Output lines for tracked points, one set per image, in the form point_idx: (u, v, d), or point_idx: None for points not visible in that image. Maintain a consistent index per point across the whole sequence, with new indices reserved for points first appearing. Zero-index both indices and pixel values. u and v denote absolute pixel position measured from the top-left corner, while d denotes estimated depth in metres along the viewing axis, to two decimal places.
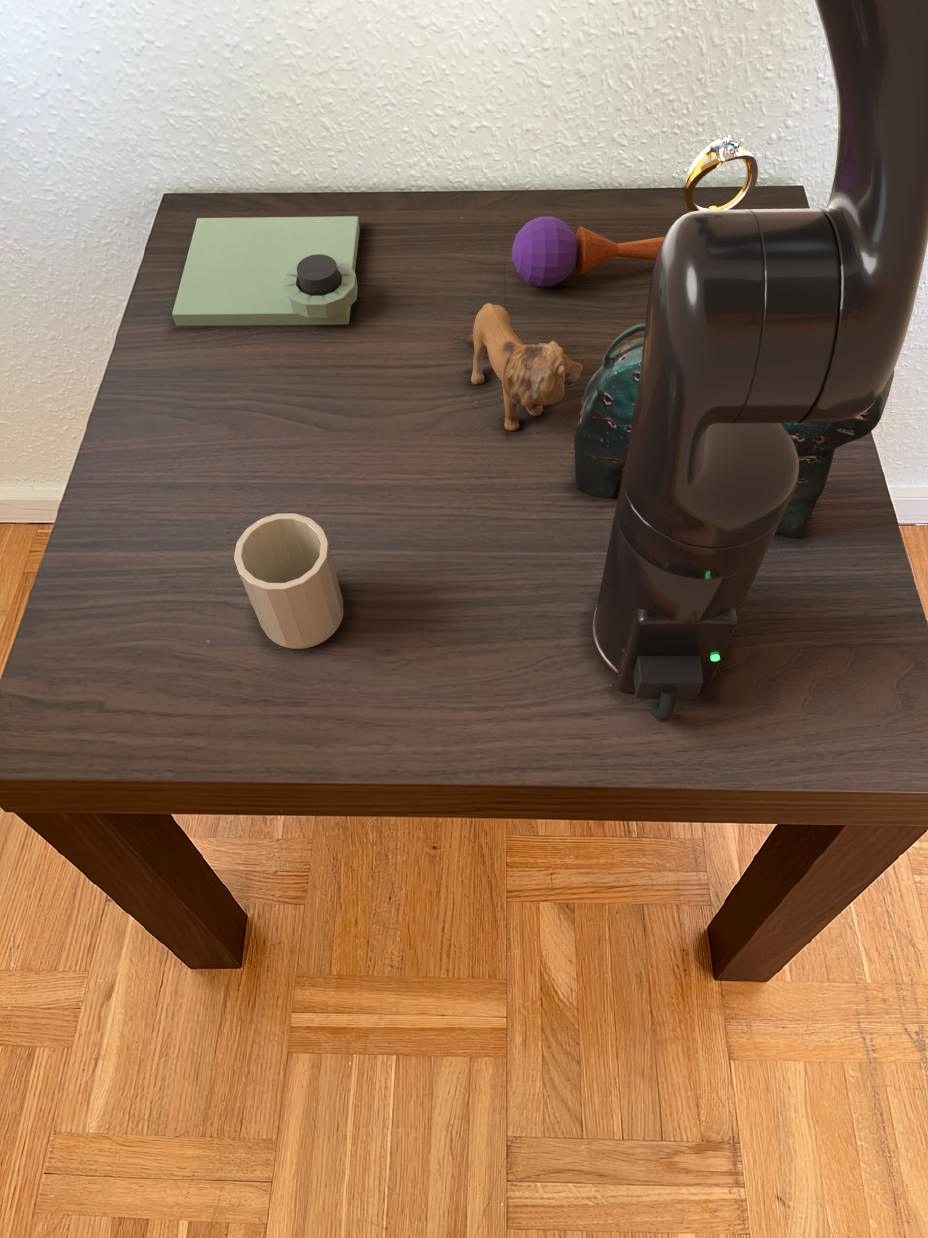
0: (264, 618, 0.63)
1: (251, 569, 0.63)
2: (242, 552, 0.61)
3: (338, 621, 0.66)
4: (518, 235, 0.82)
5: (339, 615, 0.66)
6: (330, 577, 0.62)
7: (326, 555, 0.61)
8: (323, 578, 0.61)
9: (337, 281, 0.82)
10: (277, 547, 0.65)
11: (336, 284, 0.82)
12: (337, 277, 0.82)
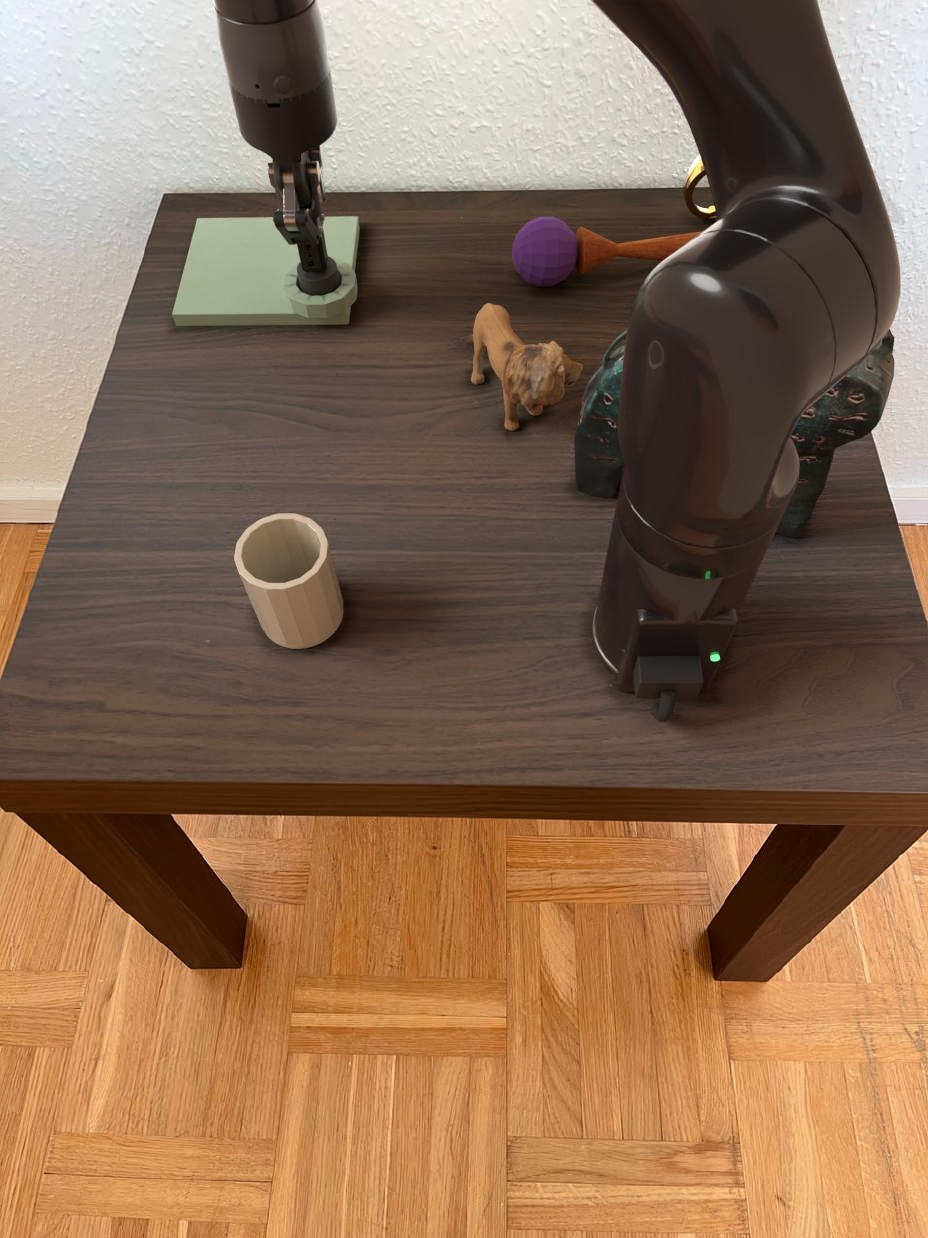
0: (264, 618, 0.63)
1: (251, 569, 0.63)
2: (242, 552, 0.61)
3: (338, 621, 0.66)
4: (518, 235, 0.82)
5: (339, 615, 0.66)
6: (330, 577, 0.62)
7: (326, 555, 0.61)
8: (323, 578, 0.61)
9: (337, 281, 0.82)
10: (277, 547, 0.65)
11: (336, 284, 0.82)
12: (337, 277, 0.82)
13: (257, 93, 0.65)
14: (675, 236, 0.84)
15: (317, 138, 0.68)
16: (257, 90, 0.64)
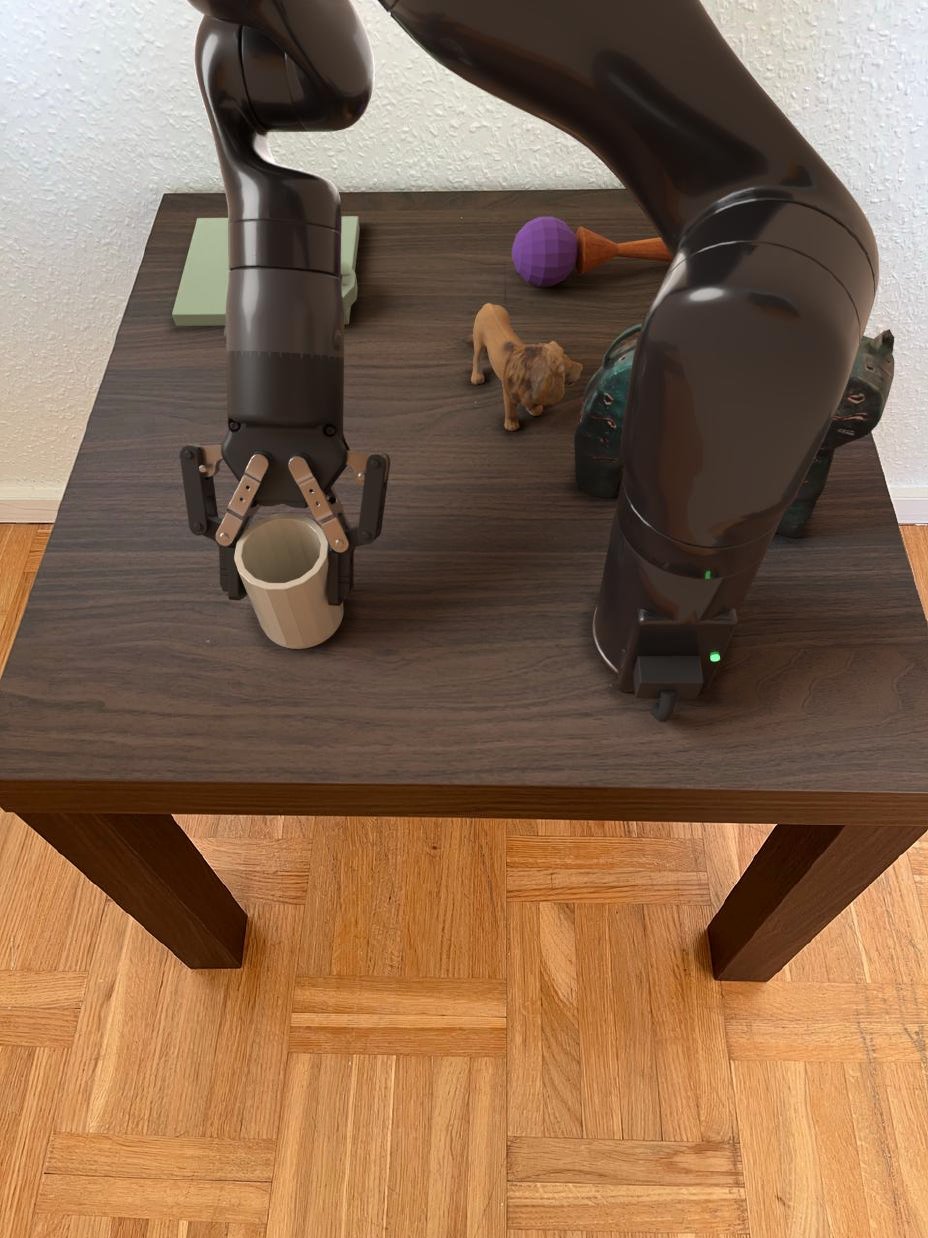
0: (264, 618, 0.63)
1: (251, 569, 0.63)
2: (242, 552, 0.61)
3: (338, 621, 0.66)
4: (518, 235, 0.82)
5: (339, 615, 0.66)
6: None
7: (326, 555, 0.61)
8: (323, 578, 0.61)
9: None
10: (277, 547, 0.65)
11: None
12: None
13: None
14: None
15: (232, 408, 0.58)
16: None
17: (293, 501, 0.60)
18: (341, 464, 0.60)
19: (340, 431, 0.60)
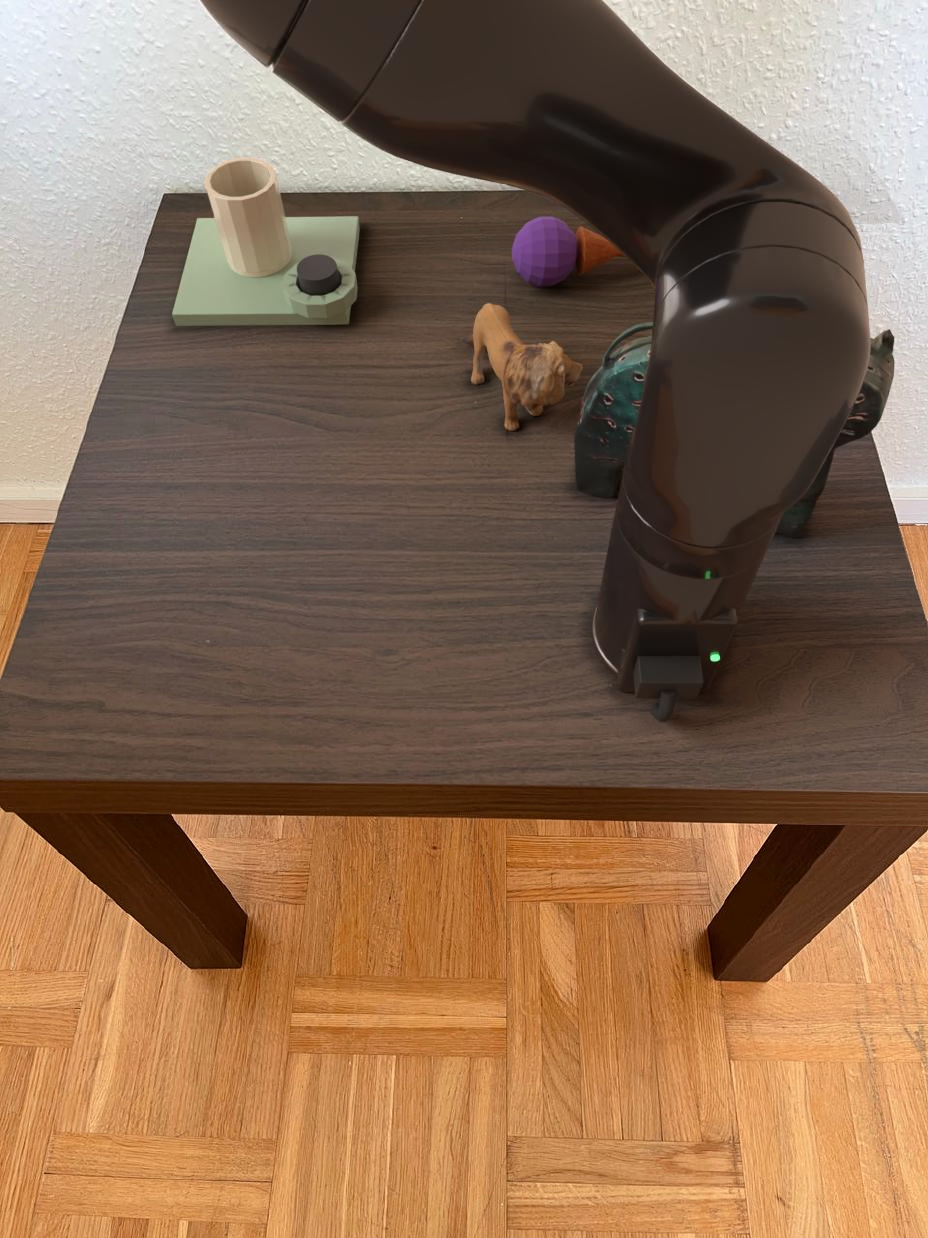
0: (217, 227, 0.84)
1: (231, 190, 0.83)
2: (222, 167, 0.81)
3: (267, 269, 0.85)
4: (518, 235, 0.82)
5: (269, 265, 0.84)
6: (259, 219, 0.80)
7: (257, 195, 0.79)
8: (249, 212, 0.80)
9: (337, 281, 0.82)
10: None
11: (336, 284, 0.82)
12: (337, 277, 0.82)
13: None
14: None
15: None
16: None
17: None
18: None
19: None
